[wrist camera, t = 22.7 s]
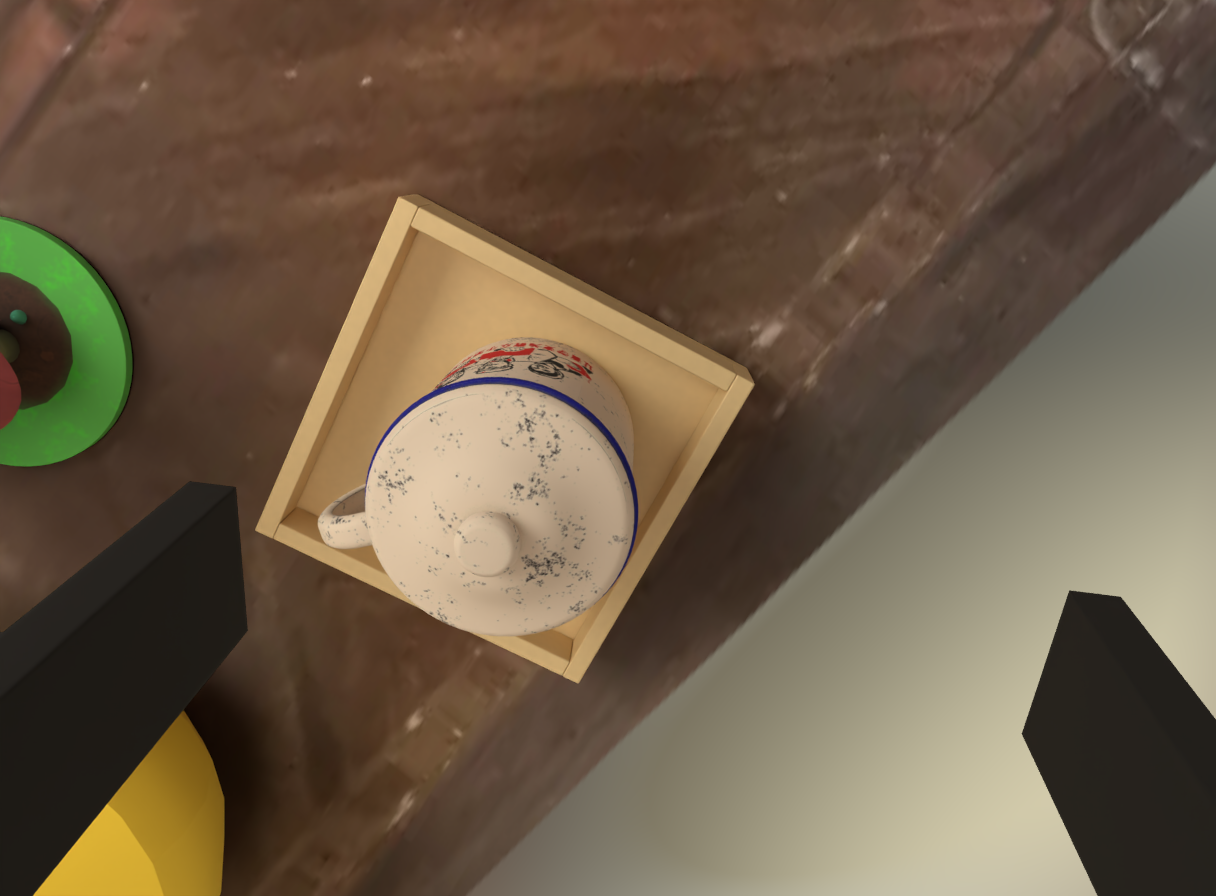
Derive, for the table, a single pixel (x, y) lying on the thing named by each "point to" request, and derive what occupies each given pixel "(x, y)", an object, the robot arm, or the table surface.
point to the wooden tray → (454, 328)
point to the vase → (153, 829)
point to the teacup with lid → (501, 491)
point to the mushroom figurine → (56, 349)
